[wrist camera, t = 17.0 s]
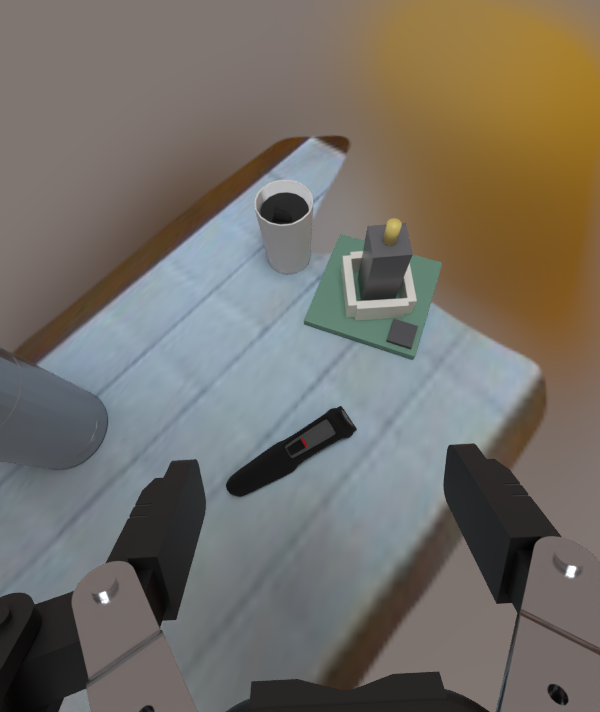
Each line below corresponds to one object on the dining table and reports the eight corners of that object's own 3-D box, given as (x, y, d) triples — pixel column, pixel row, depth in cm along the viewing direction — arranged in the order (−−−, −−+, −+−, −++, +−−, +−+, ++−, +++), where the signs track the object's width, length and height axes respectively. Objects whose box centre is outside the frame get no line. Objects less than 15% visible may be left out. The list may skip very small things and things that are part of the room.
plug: (361, 306, 48) (376, 242, 36) (357, 279, 49) (370, 209, 38) (393, 303, 48) (418, 239, 36) (388, 276, 49) (411, 206, 38)
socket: (346, 321, 47) (348, 309, 44) (340, 266, 50) (342, 252, 47) (411, 316, 47) (417, 304, 44) (401, 262, 50) (406, 248, 47)
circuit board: (304, 324, 48) (304, 318, 47) (339, 238, 53) (340, 231, 52) (412, 359, 46) (416, 354, 45) (440, 267, 51) (443, 260, 49)
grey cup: (311, 278, 51) (310, 227, 42) (261, 275, 51) (250, 224, 42) (315, 237, 53) (315, 180, 44) (268, 235, 54) (258, 178, 44)
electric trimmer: (225, 474, 42) (218, 472, 40) (340, 405, 45) (342, 398, 42) (240, 505, 41) (234, 505, 38) (358, 432, 44) (361, 427, 41)
